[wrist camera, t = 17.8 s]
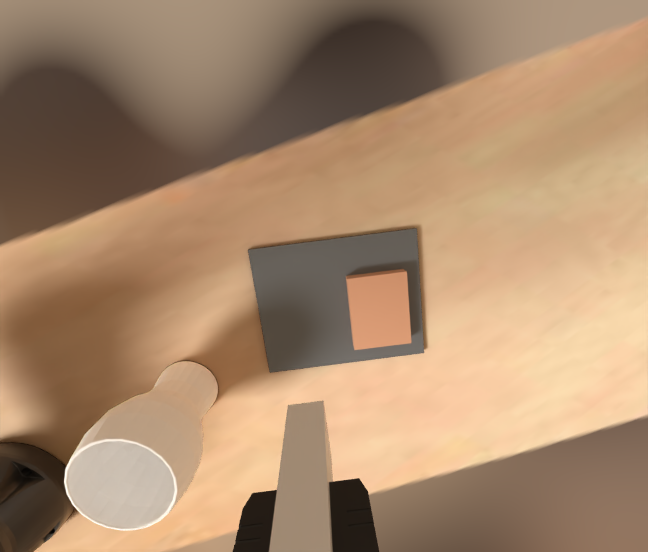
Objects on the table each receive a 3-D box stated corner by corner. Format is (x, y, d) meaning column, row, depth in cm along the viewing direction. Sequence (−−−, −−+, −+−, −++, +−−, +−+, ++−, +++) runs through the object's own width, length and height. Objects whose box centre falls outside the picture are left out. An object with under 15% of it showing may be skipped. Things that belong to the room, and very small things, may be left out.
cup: (206, 338, 40) (145, 414, 26) (242, 406, 43) (206, 511, 28) (131, 368, 41) (30, 459, 26) (171, 434, 43) (99, 551, 29)
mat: (270, 370, 42) (269, 372, 41) (249, 249, 38) (247, 250, 38) (422, 350, 42) (424, 352, 41) (415, 228, 38) (416, 228, 38)
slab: (354, 350, 39) (411, 343, 39) (347, 279, 37) (406, 271, 37) (353, 344, 41) (407, 337, 41) (345, 276, 39) (403, 268, 39)
